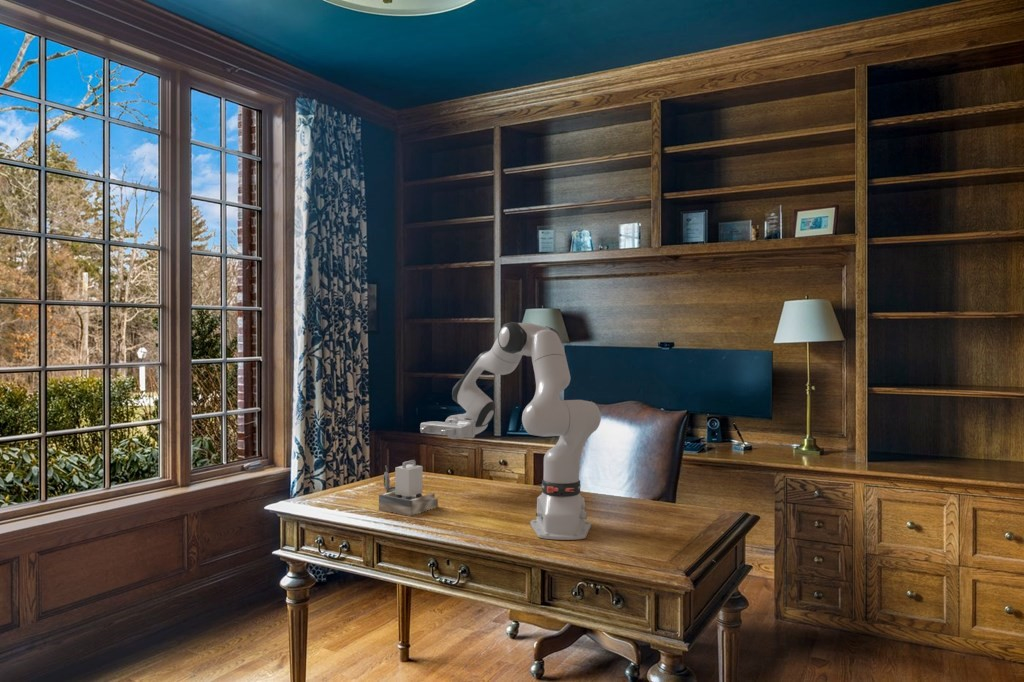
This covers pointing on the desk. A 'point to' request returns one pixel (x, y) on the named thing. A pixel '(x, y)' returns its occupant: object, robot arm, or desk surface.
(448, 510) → the desk surface
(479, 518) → the desk surface
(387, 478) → the pocket watch
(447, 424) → the robot arm
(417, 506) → the dock
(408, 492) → the trolley
